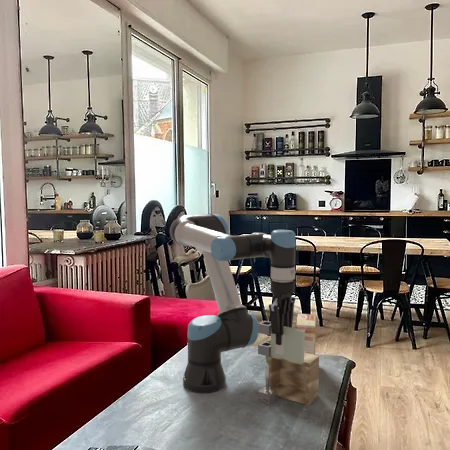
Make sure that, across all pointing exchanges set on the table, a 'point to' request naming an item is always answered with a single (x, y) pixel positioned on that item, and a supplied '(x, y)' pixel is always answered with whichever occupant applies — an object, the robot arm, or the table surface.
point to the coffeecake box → (307, 331)
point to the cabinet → (291, 380)
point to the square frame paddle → (292, 343)
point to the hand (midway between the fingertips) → (281, 352)
